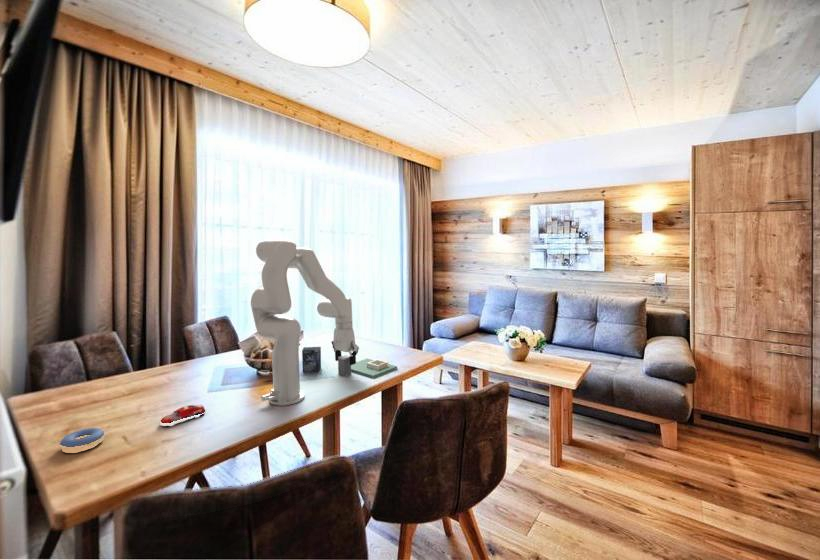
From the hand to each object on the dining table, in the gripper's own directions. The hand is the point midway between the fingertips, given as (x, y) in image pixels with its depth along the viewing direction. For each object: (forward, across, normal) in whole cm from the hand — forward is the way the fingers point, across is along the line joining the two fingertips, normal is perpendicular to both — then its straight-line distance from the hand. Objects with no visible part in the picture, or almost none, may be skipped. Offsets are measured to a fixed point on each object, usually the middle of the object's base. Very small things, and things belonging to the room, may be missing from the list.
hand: (345, 362), depth 167 cm
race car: (+4, -9, -64) cm, 65 cm away
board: (+6, +4, +11) cm, 13 cm away
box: (+5, -16, -7) cm, 18 cm away
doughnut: (+3, -13, -89) cm, 90 cm away
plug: (+5, 0, -1) cm, 5 cm away
